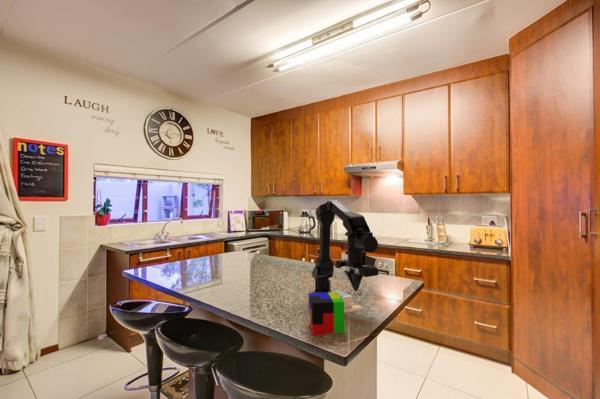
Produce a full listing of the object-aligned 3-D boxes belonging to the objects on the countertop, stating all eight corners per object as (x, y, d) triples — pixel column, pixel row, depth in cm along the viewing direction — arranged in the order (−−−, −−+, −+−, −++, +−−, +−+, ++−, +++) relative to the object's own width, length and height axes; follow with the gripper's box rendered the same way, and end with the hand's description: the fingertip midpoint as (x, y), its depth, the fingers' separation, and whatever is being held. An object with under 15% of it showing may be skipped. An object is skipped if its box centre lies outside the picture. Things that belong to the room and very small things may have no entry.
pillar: (343, 297, 110) (330, 291, 118) (343, 308, 110) (330, 301, 118) (351, 295, 112) (338, 290, 120) (352, 306, 112) (338, 299, 120)
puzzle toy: (309, 322, 98) (308, 293, 99) (337, 321, 99) (337, 292, 99) (312, 335, 88) (312, 303, 89) (344, 334, 89) (344, 301, 89)
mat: (365, 309, 109) (365, 308, 109) (344, 314, 105) (344, 313, 105) (343, 299, 122) (343, 298, 122) (323, 303, 117) (323, 302, 117)
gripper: (389, 250, 102) (390, 293, 102) (356, 244, 119) (357, 281, 119) (365, 252, 97) (366, 299, 97) (334, 246, 114) (334, 285, 113)
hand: (356, 290), depth 107 cm, fingers closed
